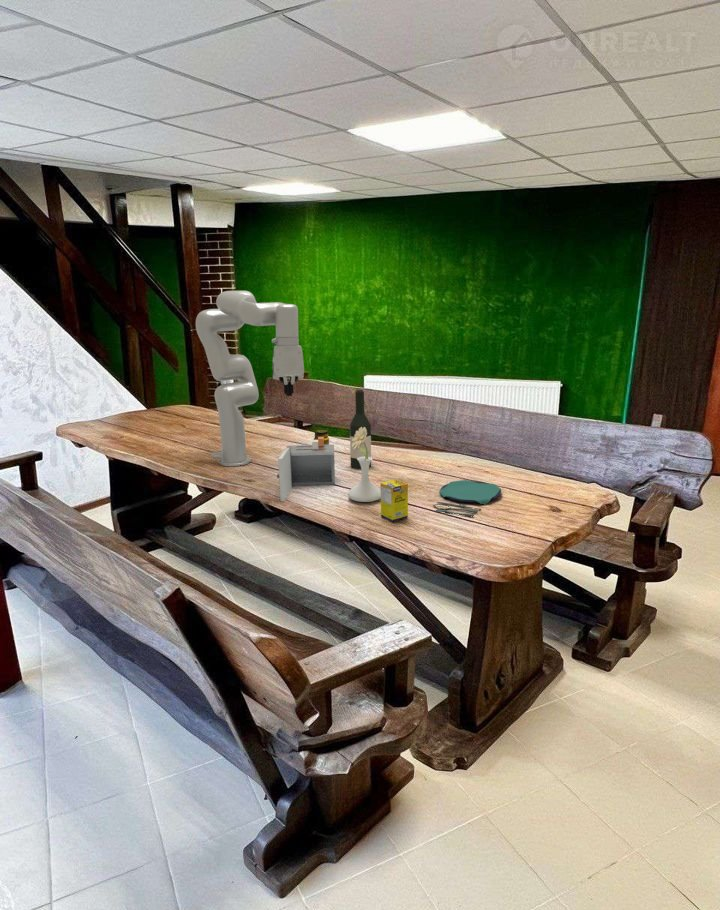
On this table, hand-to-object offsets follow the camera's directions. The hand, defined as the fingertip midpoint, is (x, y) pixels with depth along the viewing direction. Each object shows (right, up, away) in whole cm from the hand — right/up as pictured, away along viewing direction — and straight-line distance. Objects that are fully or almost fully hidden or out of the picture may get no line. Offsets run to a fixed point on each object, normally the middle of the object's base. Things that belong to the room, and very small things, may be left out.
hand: (288, 395), depth 210 cm
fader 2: (+11, -17, +8) cm, 22 cm away
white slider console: (+8, -30, +8) cm, 32 cm away
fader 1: (+9, -18, +4) cm, 21 cm away
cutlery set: (+59, -36, -12) cm, 70 cm away
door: (-1, -34, -4) cm, 34 cm away
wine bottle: (+25, -25, +25) cm, 43 cm away
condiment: (+9, -23, +34) cm, 42 cm away
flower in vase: (+26, -35, -12) cm, 46 cm away
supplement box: (+35, -40, -27) cm, 59 cm away
